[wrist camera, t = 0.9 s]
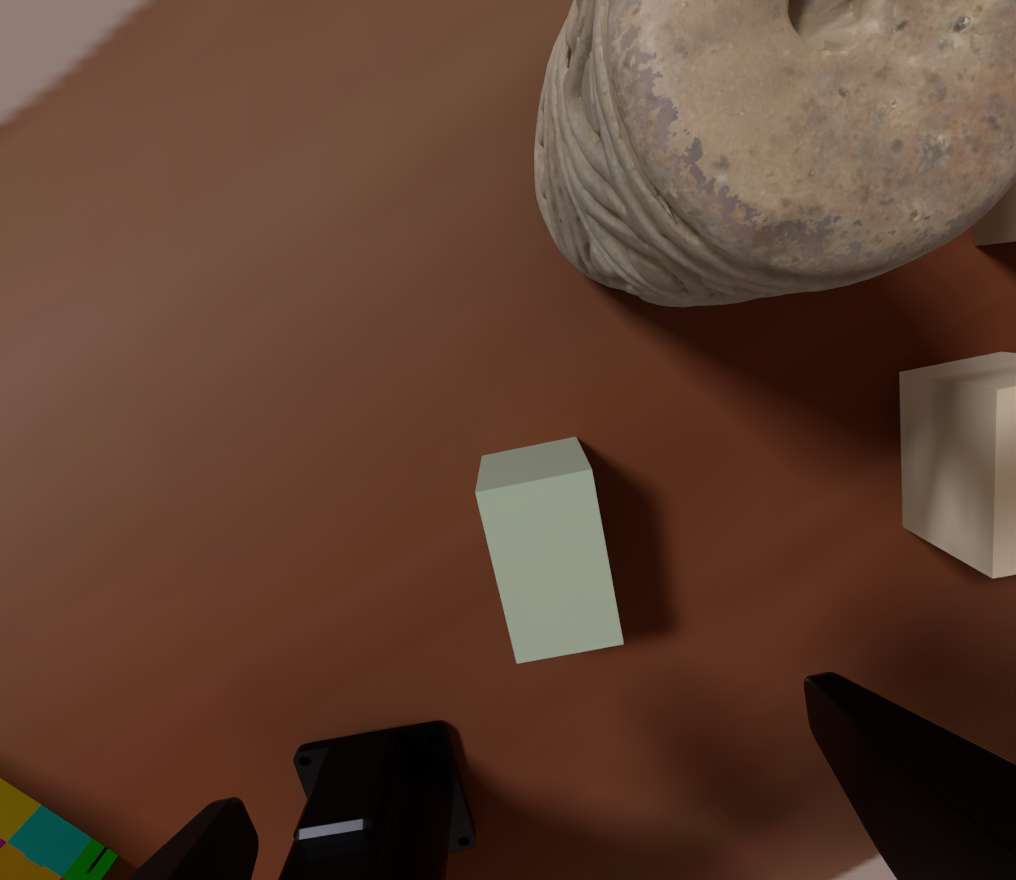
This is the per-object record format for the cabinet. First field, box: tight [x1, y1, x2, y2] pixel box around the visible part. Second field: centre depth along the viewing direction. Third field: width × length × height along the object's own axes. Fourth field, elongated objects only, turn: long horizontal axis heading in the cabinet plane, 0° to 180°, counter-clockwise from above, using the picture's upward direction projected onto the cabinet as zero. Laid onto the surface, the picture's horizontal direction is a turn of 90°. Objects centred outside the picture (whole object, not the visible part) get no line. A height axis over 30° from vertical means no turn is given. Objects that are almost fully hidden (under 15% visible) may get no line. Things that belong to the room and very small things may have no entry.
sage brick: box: [475, 437, 624, 664], centre depth 18 cm, size 6×4×4 cm, turn 12°
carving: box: [534, 0, 1016, 307], centre depth 11 cm, size 6×8×12 cm
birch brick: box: [899, 352, 1016, 579], centre depth 18 cm, size 6×4×4 cm, turn 12°
